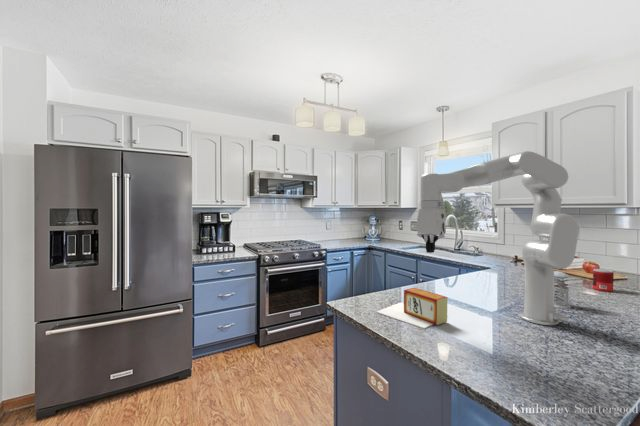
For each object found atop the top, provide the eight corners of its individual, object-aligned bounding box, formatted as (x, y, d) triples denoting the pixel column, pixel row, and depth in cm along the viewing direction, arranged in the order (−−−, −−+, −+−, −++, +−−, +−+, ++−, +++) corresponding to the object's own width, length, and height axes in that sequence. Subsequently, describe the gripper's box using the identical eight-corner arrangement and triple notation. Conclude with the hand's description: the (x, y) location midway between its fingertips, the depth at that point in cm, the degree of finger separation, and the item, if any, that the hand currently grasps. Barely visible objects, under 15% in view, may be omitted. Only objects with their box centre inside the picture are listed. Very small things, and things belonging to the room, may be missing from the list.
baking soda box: (436, 325, 109) (403, 312, 123) (447, 321, 113) (413, 309, 126) (436, 300, 109) (403, 289, 123) (447, 297, 113) (413, 287, 126)
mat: (447, 316, 119) (447, 315, 119) (424, 329, 107) (424, 327, 107) (400, 303, 135) (400, 302, 135) (376, 312, 123) (376, 311, 123)
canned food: (617, 292, 154) (617, 271, 154) (602, 292, 154) (602, 271, 154) (603, 288, 162) (603, 268, 161) (588, 288, 162) (589, 268, 162)
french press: (569, 309, 128) (570, 252, 127) (536, 302, 137) (537, 249, 136) (573, 304, 134) (574, 250, 134) (542, 298, 143) (543, 247, 142)
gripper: (454, 205, 111) (453, 253, 111) (418, 205, 122) (418, 249, 123) (444, 205, 106) (444, 255, 106) (408, 205, 117) (408, 251, 118)
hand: (430, 252), depth 114 cm, fingers closed
